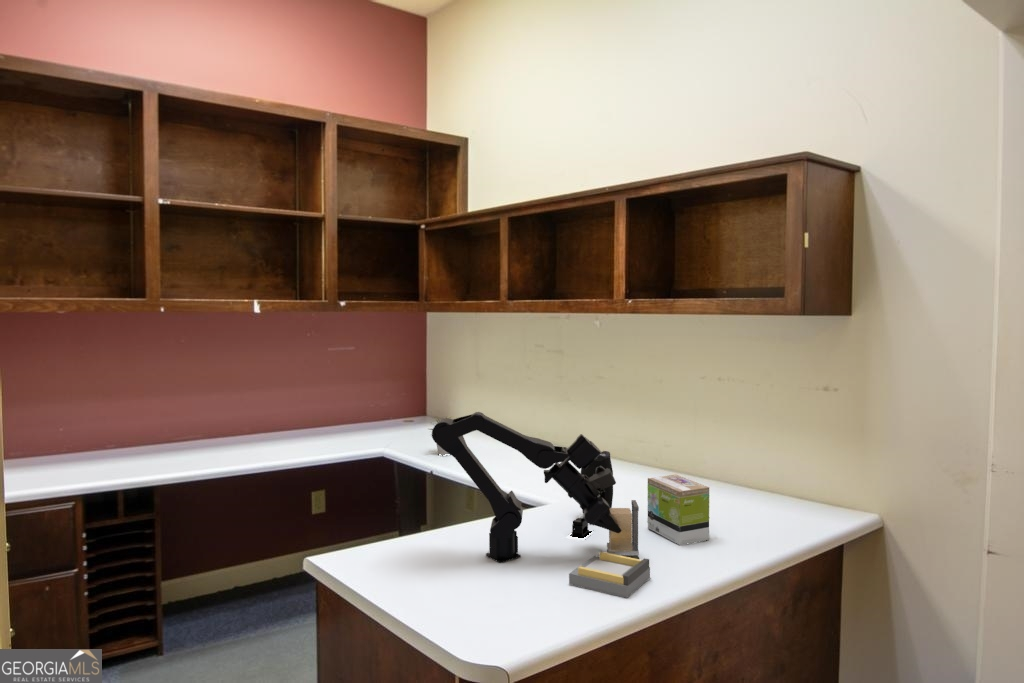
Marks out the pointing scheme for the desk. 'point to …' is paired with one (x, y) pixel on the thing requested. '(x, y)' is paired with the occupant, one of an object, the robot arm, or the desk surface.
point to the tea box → (678, 509)
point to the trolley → (625, 532)
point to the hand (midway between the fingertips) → (618, 525)
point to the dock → (611, 574)
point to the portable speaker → (591, 469)
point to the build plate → (580, 528)
